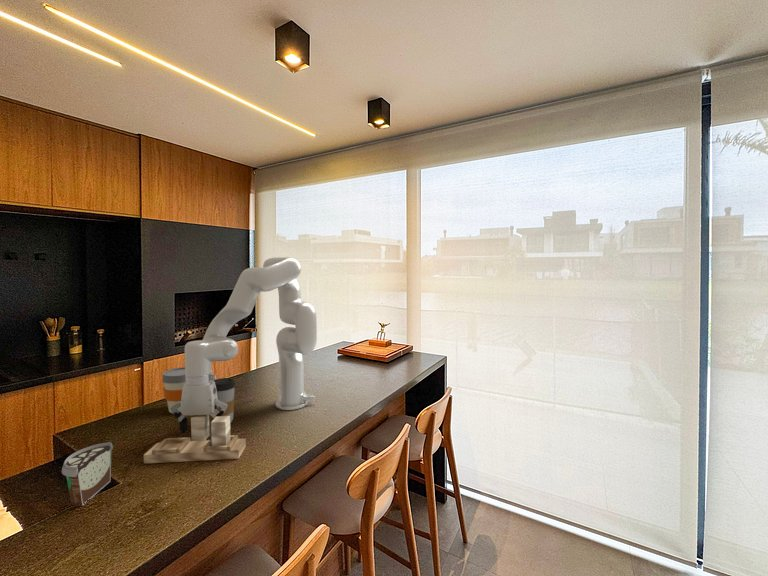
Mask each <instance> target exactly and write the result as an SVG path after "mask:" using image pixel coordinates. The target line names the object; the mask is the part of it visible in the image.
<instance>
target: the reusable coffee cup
mask: <svg viewBox="0 0 768 576" xmlns="http://www.w3.org/2000/svg"><path fill="white" fill-rule="evenodd" d="M162 383H163V386H164V387H163V394H164V398H165V401H166V402H167V408H168V412H169V413H171V414H173V413H172V411H171V409H170V408H171V407H172V406H174V405H176V404H178V403H180V402H181V397H182V390H183V386H184V384H185V383H186V382H185V366H183V367H176V368H171V369H168V370H165V371H163V373H162ZM178 411H180V412H181V407H179V408H178Z"/></svg>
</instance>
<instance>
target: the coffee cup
mask: <svg viewBox="0 0 768 576" xmlns="http://www.w3.org/2000/svg"><path fill="white" fill-rule="evenodd" d="M213 381H215V385H216V389H217V396H218V400H219V401H221V402H224V403H226V404H228V407H227V409H226V410H225V412H224V413H223V415H222V416H230V424H231V423H232V422H233V420H234V412H235V387H236V384H235V383H236V381H234V379H233V378H231V377H222V378H216V379H215V380H213ZM221 409H222V408H221V407H219V406H218V408H217V410H218V412H220V411H221Z"/></svg>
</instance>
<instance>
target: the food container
mask: <svg viewBox="0 0 768 576" xmlns="http://www.w3.org/2000/svg"><path fill="white" fill-rule="evenodd" d="M113 449H114V446H113V444H112V442H111V441H110V442H103V443H98V444H97V443H96V444H94V445H90V446H87V447H84V448H82V449H80V450H79V449H78V450H77V451H75V452H73V453H71V454H70V455H69V456H68V457H66V459H65V460H64V462H63V465H62V468H61V474H62V475H63V476H65V477H66V481H67V487H68V494H69V499H70V503H71V505H73V506H75V507H83V506H85V504H86V502H87V500H89V499H90V500H91V499H93V498H94V496H96V495H97V494H98V493H100V492H101V490H102V489H104V488H105V487H107V485H108V484H109V483H111V480H112V479H111V476H112V475H111V473H112V472H111V471H112V450H113ZM90 500H89V501H90ZM84 501H86V502H84ZM84 503H85V504H84ZM87 503H88V502H87ZM79 504H80V505H79ZM77 505H78V506H77ZM81 505H82V506H81Z"/></svg>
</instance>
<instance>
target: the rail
mask: <svg viewBox="0 0 768 576" xmlns="http://www.w3.org/2000/svg"><path fill="white" fill-rule="evenodd" d="M209 430H210V436H209V439H206V440H203V441H192V439H191V437H168V438H164V439H163V440H161V441H160V442H156V443H155V444H154V445H153V446H152V447H150V448H149V449H148V450H147V451H146V452H145V453H144V454H143V464H145V465H146V464H158V463H159V464H160V463H179V462H199V461H201V462H202V461H219V460H234V459H238V460H239V459H240V457H241V455H242V454H243V453H244V450H245V448H246V447H247V446H246V445H247V442H246V439H247V438H239V435H238V434H233V435H231V423H230V416H217V417H215V419H213V418H212V420H211V421H209Z"/></svg>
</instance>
